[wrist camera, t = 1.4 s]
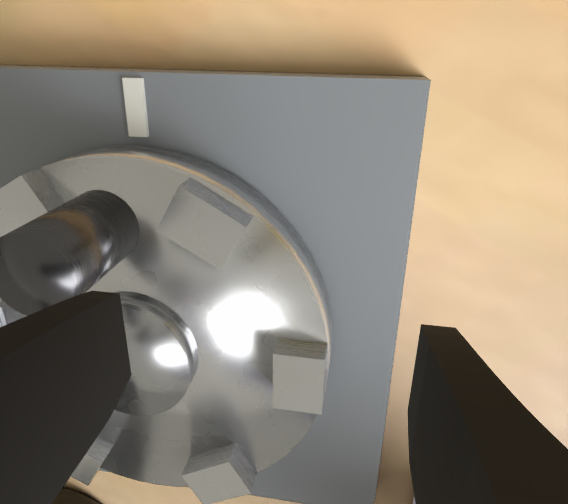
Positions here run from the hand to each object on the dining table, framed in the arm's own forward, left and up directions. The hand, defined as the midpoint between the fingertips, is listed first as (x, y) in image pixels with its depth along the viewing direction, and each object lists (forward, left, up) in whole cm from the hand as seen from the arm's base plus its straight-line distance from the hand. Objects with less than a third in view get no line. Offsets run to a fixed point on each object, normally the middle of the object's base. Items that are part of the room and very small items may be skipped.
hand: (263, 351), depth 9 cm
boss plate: (+7, +6, -10) cm, 13 cm away
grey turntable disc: (+6, +6, -9) cm, 12 cm away
